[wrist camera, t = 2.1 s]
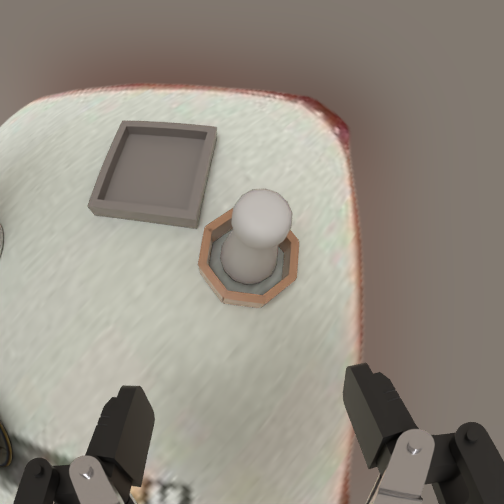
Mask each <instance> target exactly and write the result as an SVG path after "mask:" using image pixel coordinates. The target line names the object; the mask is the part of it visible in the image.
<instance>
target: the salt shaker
mask: <svg viewBox="0 0 504 504" xmlns="http://www.w3.org/2000/svg"><path fill="white" fill-rule="evenodd" d="M291 225H292V211H291V209H290V207H289V204H288V202H287V201H286V200H285V199H284V198H283V197H282V196H281V195H280V194H278V193H277V192H274V191H271V190H268V189H253V190H251V191H249V192H247V193H245V194H243V195H242V196H241V197H240V199H239V200H238V201H237V203H236V204H235V206H234V207H233V212H232V227H233V230H232V231H231V233H230V234H229V236H228V237H227V239H226V240H225V242H224V243H223V245H222V247H221V255H220V260H221V263H222V265H223V268H224V271H225V272H226V273H227V274H228V275H229V276H230V277H231V278H232V279H233V280H234V281H237V282H240V283H243V284H254V283H260V282H261V281H263V280H264V279H266V278H268V277H269V276H271V274H272V272H273V270H274V269H275V267H276V265H277V254H278V244H280V243H281V242H283V241H284V239H285V238H286V236H287V234H288V233H289V231H290V229H291Z"/></svg>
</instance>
